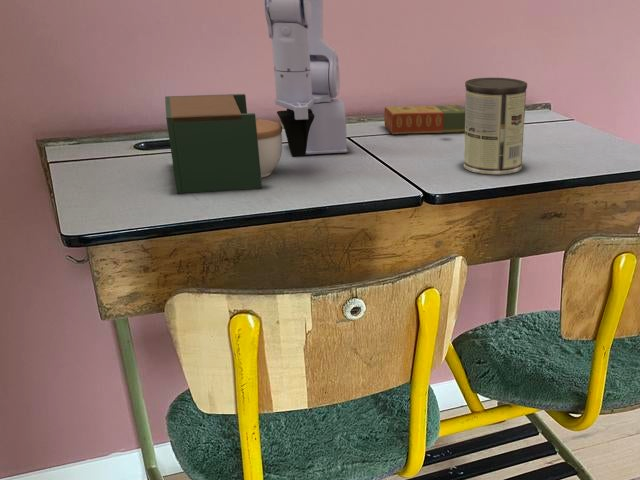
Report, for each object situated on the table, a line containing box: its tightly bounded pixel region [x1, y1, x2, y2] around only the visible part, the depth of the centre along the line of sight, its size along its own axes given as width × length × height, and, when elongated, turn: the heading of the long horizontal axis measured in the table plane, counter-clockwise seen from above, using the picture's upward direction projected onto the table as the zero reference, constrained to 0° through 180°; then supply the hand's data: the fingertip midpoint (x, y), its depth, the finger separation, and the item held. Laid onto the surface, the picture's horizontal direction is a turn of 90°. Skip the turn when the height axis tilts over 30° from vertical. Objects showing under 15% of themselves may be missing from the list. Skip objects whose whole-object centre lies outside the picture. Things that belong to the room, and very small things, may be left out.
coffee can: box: [463, 77, 528, 175], centre depth 139 cm, size 10×10×14 cm
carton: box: [383, 104, 465, 135], centre depth 166 cm, size 8×16×4 cm, turn 105°
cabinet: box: [164, 93, 263, 194], centre depth 131 cm, size 13×17×11 cm
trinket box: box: [256, 118, 283, 178], centre depth 133 cm, size 11×11×9 cm
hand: (298, 155), depth 136 cm, fingers closed, pressing on trinket box
